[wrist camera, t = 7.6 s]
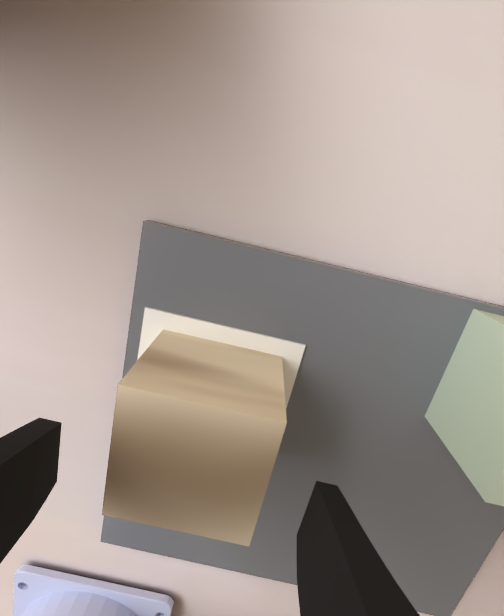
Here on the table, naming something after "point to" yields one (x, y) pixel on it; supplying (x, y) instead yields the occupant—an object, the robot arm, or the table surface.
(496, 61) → the table surface
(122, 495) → the maple block
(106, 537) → the baseplate
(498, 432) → the sage block
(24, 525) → the robot arm
